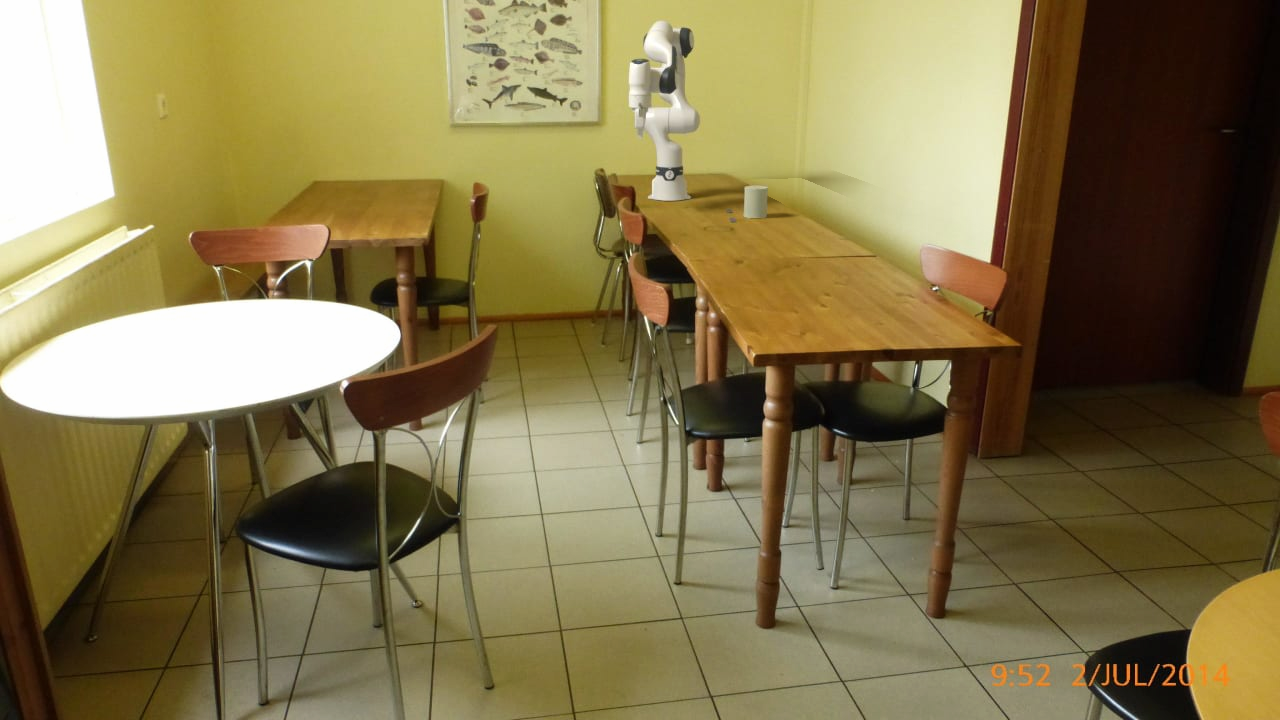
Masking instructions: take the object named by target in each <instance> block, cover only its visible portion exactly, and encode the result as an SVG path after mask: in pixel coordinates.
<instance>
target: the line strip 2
mask: <svg viewBox="0 0 1280 720" xmlns="http://www.w3.org/2000/svg"><path fill="white" fill-rule="evenodd" d="M729 220H731V221H730V223H737V221H736V219H735V217H729Z"/></svg>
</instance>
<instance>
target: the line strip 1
mask: <svg viewBox="0 0 1280 720" xmlns="http://www.w3.org/2000/svg"><path fill="white" fill-rule="evenodd" d="M726 210H727V211H726ZM725 211H726V213H727V214H732V213H733V212H732V209H731V208H726V209H725Z"/></svg>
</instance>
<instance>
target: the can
mask: <svg viewBox="0 0 1280 720" xmlns="http://www.w3.org/2000/svg"><path fill="white" fill-rule="evenodd" d="M768 190H769V187H768V186H764V185H747V186H744V201H743V202H744V203H743V204H744V205H743V216H744V217H743V218H745V217H747V218H746V219H750V218H762V219H766V218H767V217H768V215H767V214H768V213H767V212H768V193H769V191H768ZM765 217H766V218H765Z"/></svg>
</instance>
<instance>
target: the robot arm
mask: <svg viewBox="0 0 1280 720" xmlns="http://www.w3.org/2000/svg"><path fill="white" fill-rule="evenodd" d="M642 40H643V43H642V45H643V46H642V47H643V51H644V54H645V55H646V57H647V59H646V58H635V59H632V60H631V61H630V63H629V70H628V86H629V91H628V107H629V108H631V112H633V113H634V129H635V130H636V131H637V140H643V138H644V137H643V132H645V133H646V134H648V136H649V137H650V138H651V139H652V141H653V143H654V146H655V151H656V166H655V174H656V176H655V177H654V178H653V179H652V181H651V194H649V195H648V196H647V199H649V200H655V201H665V202H666V201H671V202H673V201H683V200H691V198H692V196H691V195H689V194H688V193H687V190H688V188H687V179H686V178H685V177H684V166H683V148H682V147H681V145H680V144H679V143H677V142H676V141H674V140H671V139H670V137H669V134H675V135H676V134H681V135H683V134H689V133H690V134H691V133H694V132H696V131H697V130H698V128H699V126H700V123H701V116H700V114H699V112H698V110H697V109H696V108H694V107H693V106H692V105H691V104H690V103H689V101H688V100H687V96H686V63H685V59H687V58H688V57H689V54H691V53H692V51H693V49H694V47H695V35H694V33H693V31H692V29H691V28H689V27H684V26H683V27H682V26H681V27H673V26H672V25H671V23H670V22H668V21H666V20H657V21H655V22H653V24H652V26H651V27H650V28H649V30H648V31H647V33H646V34H645V35H644V36H643V39H642ZM650 60H651V61H652V62H655V63H660V64H661V65H660V67H651V62H650ZM652 94H658V95H659V97H660V98H661V99H662V100H663V101H664V102H666V103H668V104H670V105H671V106H655V107H654V106H653V107H652Z"/></svg>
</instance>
